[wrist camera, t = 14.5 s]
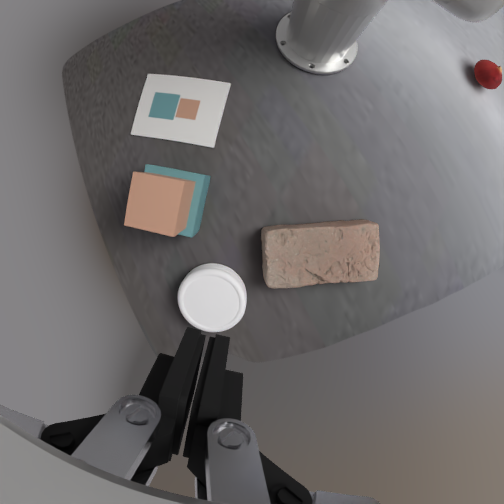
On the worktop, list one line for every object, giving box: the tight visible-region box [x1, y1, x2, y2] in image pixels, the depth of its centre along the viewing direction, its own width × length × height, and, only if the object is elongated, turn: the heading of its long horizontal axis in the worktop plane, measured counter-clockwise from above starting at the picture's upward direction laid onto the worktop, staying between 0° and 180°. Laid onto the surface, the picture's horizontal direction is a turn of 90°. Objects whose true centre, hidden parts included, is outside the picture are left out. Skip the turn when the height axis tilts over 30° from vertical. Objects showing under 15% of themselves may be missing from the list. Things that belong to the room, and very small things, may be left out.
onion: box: [474, 60, 502, 89], centre depth 30 cm, size 6×6×8 cm
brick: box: [261, 219, 380, 289], centre depth 40 cm, size 17×8×5 cm, turn 95°
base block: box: [144, 164, 211, 237], centre depth 38 cm, size 8×8×5 cm
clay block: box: [124, 172, 196, 237], centre depth 32 cm, size 6×6×6 cm
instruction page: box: [131, 74, 231, 148], centre depth 37 cm, size 10×13×1 cm
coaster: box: [178, 263, 247, 332], centre depth 42 cm, size 10×10×4 cm
